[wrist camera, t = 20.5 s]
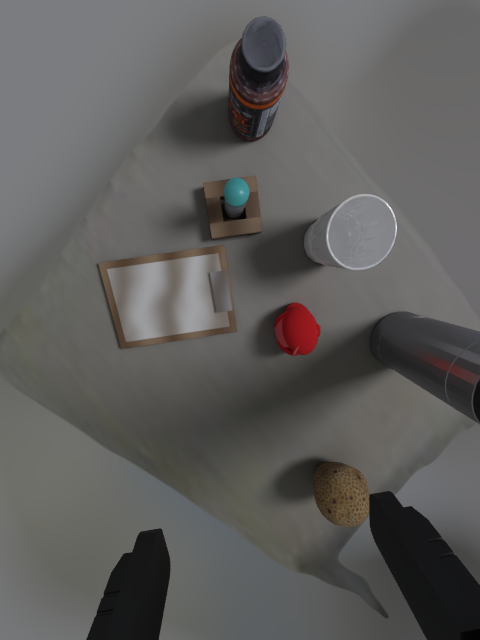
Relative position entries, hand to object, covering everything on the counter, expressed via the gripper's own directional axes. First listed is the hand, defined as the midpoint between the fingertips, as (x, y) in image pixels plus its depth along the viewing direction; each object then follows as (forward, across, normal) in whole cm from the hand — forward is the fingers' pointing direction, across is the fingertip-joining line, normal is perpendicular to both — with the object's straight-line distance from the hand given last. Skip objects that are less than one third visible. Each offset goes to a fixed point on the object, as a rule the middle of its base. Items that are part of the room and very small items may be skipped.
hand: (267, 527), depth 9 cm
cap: (+30, -9, +1) cm, 32 cm away
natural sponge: (+30, -13, +29) cm, 44 cm away
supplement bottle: (+30, -6, -28) cm, 42 cm away
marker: (+30, -2, -17) cm, 35 cm away
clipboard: (+30, +9, -6) cm, 32 cm away
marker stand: (+30, -2, -17) cm, 35 cm away
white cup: (+30, -15, -11) cm, 36 cm away
